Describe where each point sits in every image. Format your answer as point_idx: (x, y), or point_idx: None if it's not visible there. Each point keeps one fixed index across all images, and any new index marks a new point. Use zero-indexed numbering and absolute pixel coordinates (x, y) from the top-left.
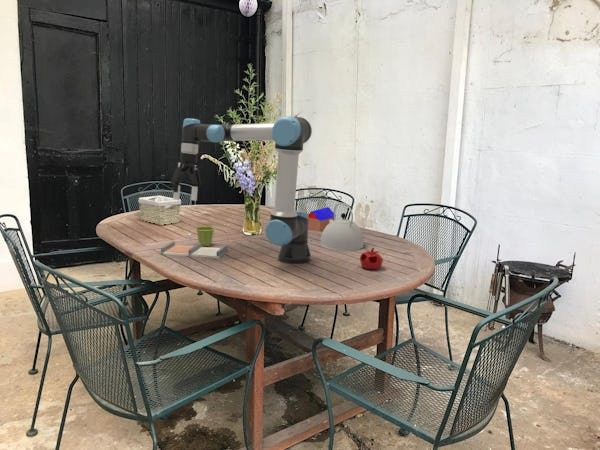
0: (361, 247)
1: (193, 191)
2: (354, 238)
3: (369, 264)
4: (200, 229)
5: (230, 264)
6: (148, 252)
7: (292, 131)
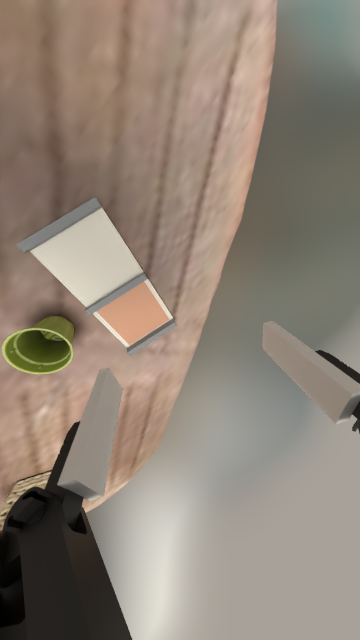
0: None
1: (105, 436)
2: None
3: None
4: (48, 366)
5: (107, 110)
6: (180, 340)
7: None
